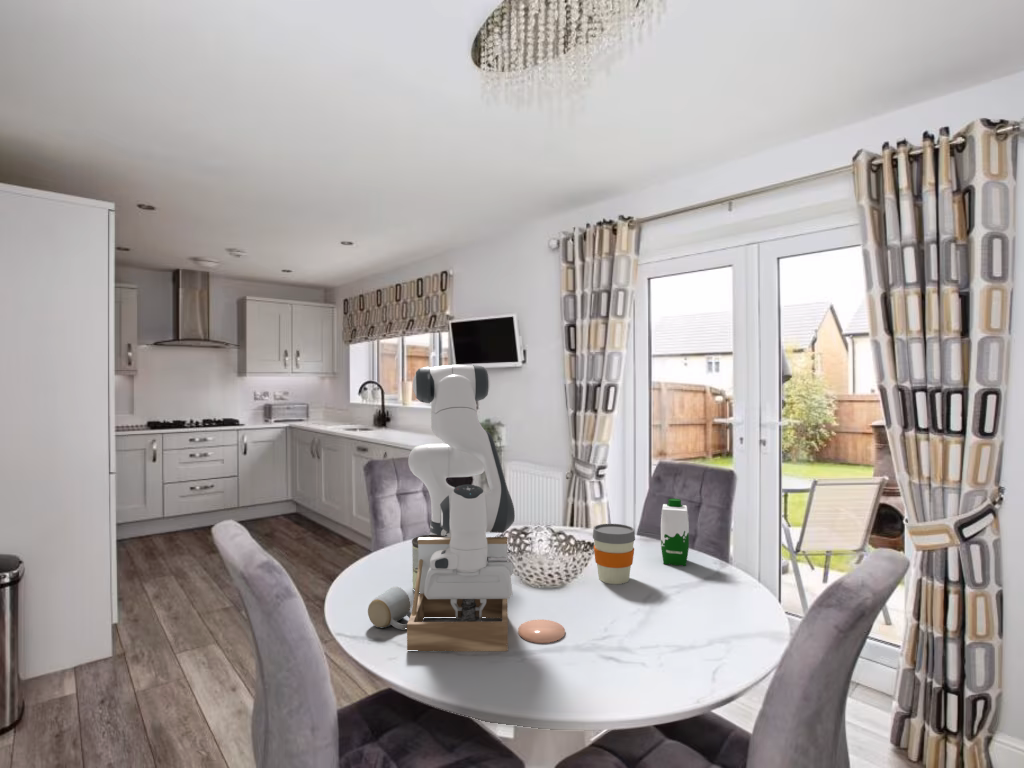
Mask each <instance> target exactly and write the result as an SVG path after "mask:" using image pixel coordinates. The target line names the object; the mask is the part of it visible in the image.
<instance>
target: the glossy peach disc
mask: <svg viewBox="0 0 1024 768" xmlns="http://www.w3.org/2000/svg"><path fill="white" fill-rule="evenodd" d="M517 634H518V636H519V635H520V636H521V637H522V638H521V637H520V638H521V639H522V640H525V641H526V642H530V643H535V644H549V643H550V642H551V643H555V642H557V640H558V641H560V640H562V639H563V638H564V637H565V635H566V629H565V627H564V625H562V624H561V623H559V622H557V621H553V620H550V619H533V620H532V619H531V620H528V621H527V620H526V621H525V622H522V623H521V624H520V625H519V626H518V629H517ZM563 636H564V637H563ZM561 638H562V639H561ZM554 641H555V642H554Z"/></svg>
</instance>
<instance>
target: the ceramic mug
mask: <svg viewBox="0 0 1024 768" xmlns="http://www.w3.org/2000/svg"><path fill="white" fill-rule="evenodd" d="M411 605H412V604H411V600H410V597H409V595H408V594H407V592H406V591H405V590H404V589H403V588H401V587H398V586H392V587H390V588H389V589H387V590H386V591H384V592H383V593H381V594H380V595H378V596H377V597H375V598H373V599H372V601H371V602H370V603H369V605H368V607H367V615H368V619H369V621H370V622H371V623H372V625H373V626H374V627H376V626H377V627H376V628H378V627H385V628H387V626H388V627H390V626H392V627H394V629H395V628H396V629H397V630H400V629H405V628H407V623H405V624H402V623H400V622H399V621H400V620H402V619H403V618H405V617H406V616H407V618H410V616H411V614H412V610H411Z"/></svg>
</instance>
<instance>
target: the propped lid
mask: <svg viewBox="0 0 1024 768" xmlns="http://www.w3.org/2000/svg"><path fill="white" fill-rule="evenodd" d="M418 537H419V536H418ZM486 538H487V543H488V557H507V558H508V536H486ZM450 540H451V537H419V538H418V557H419V565H418V572H417V579H416V586H415V592H413V593H414V594H413V602H412V607H411V608H412V609H411V613H412V614H411V615H412V616H414V615H416V610H417V603H418V596H419V589H420V594H424V589H425V580H426V576H427V573H428V570H429V568H430V559H431V556H432V555H433V554H434V553H435V552H437V551H440V550H443V549H446V548H449V547H450V545H449V544H450Z"/></svg>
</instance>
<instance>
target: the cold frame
mask: <svg viewBox="0 0 1024 768" xmlns="http://www.w3.org/2000/svg"><path fill="white" fill-rule="evenodd" d="M462 603H463V599H457V605H458V607H460V608H462V606H461V604H462ZM475 603H476V607H479V606H480V605H481V603H480V599H475ZM476 607H475V609H476ZM508 612H509V611H508V599H487V600H486V605H485V606H484V608H483V610H482V617H486V618H485V619H501V620H500V621H499V620H498V621H481V622H456V621H424V620H423V618H424V617H455V610H454V608H453V607H452V605H451V599H427V598H426V596H425V595H424V594H419V595H418V603H417V610H416V615H414V616H412V615H411V616H410V618H409V617H408V618H409V619H408V620H407V623H406V624H407V629H406V651H407V650H418V651H454V652H509V650H508V649H509V647H508V644H509V636H508V632H509V631H508V629H509V628H508V627H509V625H508V624H509V623H508V622H509V621H508V618H509V617H508V615H509V613H508ZM422 621H423V622H422Z"/></svg>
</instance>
